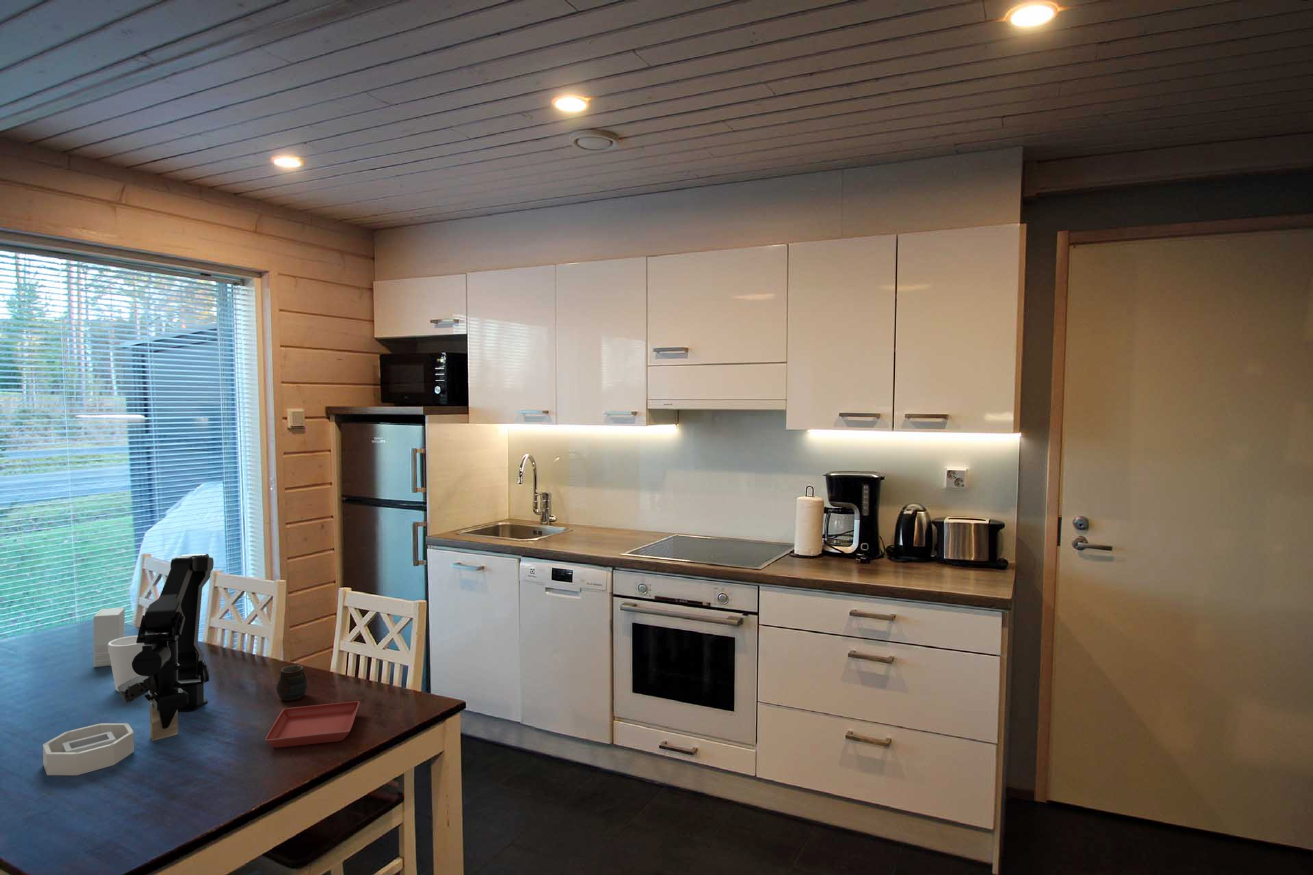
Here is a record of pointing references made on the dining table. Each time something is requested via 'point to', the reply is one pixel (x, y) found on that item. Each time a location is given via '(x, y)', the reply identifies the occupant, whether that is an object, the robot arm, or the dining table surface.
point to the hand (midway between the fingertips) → (164, 726)
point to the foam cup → (123, 658)
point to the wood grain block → (156, 725)
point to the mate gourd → (292, 683)
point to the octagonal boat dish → (88, 749)
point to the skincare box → (107, 633)
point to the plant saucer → (312, 724)
